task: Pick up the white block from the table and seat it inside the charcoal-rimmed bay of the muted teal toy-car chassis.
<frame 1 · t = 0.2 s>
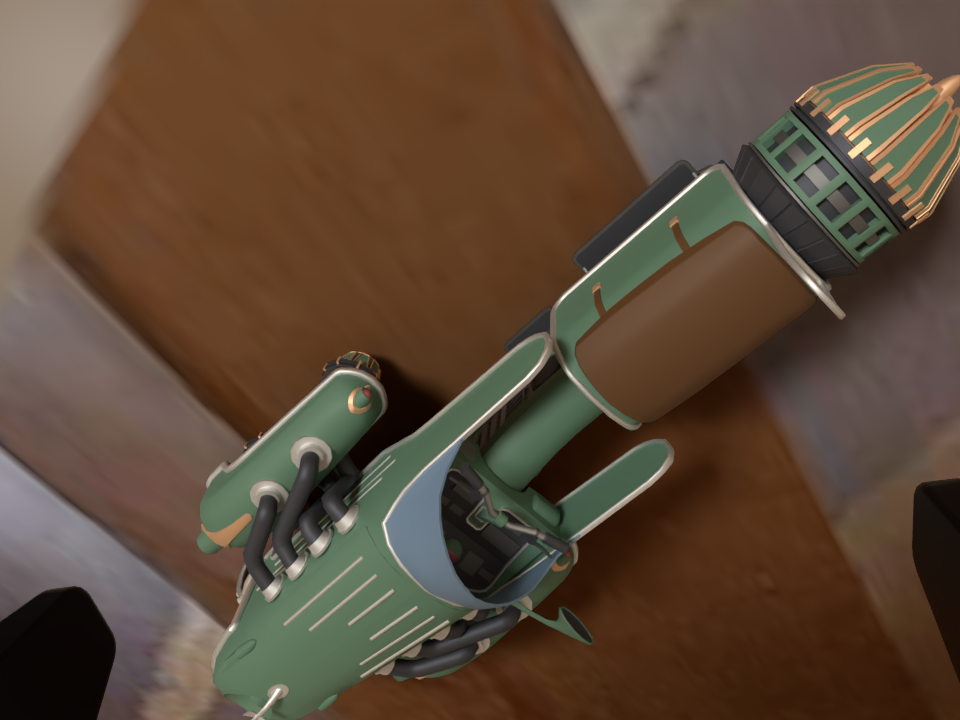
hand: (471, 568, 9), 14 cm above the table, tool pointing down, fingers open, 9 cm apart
hoverbike: (524, 367, 24), on the table
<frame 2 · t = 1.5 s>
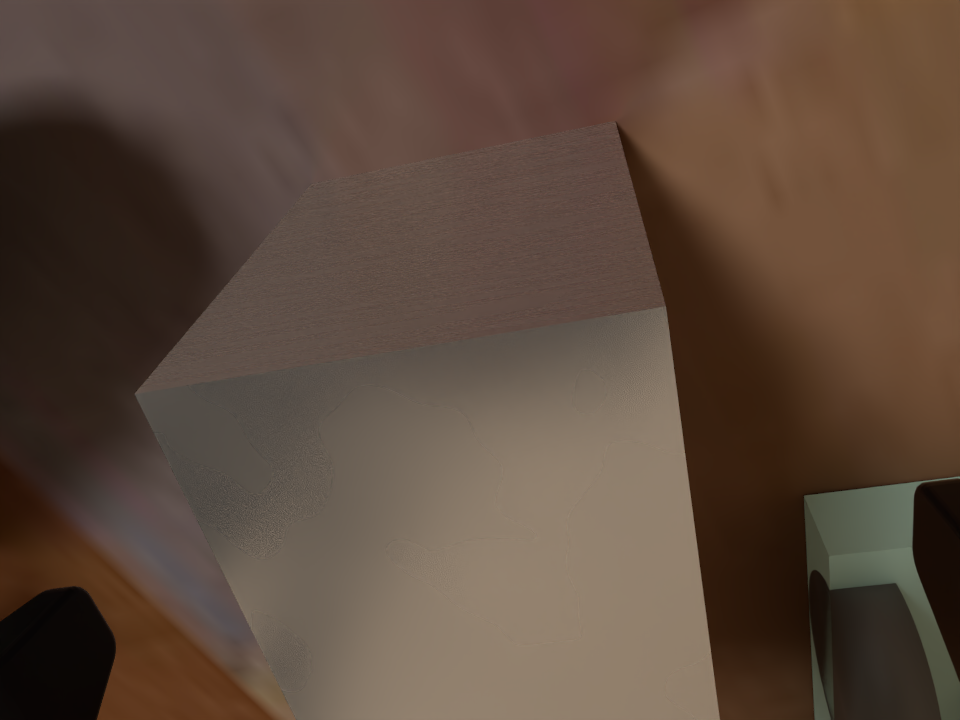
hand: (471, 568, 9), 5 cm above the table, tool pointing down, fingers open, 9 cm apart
white block: (502, 333, 13), on the table
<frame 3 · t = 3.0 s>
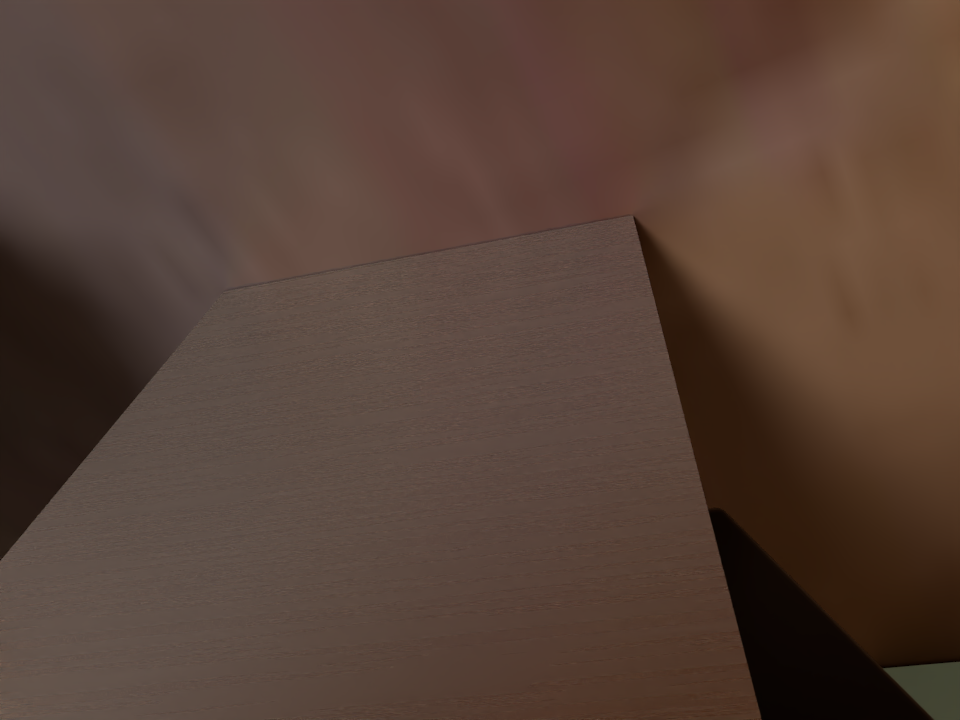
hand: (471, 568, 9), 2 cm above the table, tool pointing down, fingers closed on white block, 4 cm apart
white block: (481, 478, 10), on the table, touching gripper
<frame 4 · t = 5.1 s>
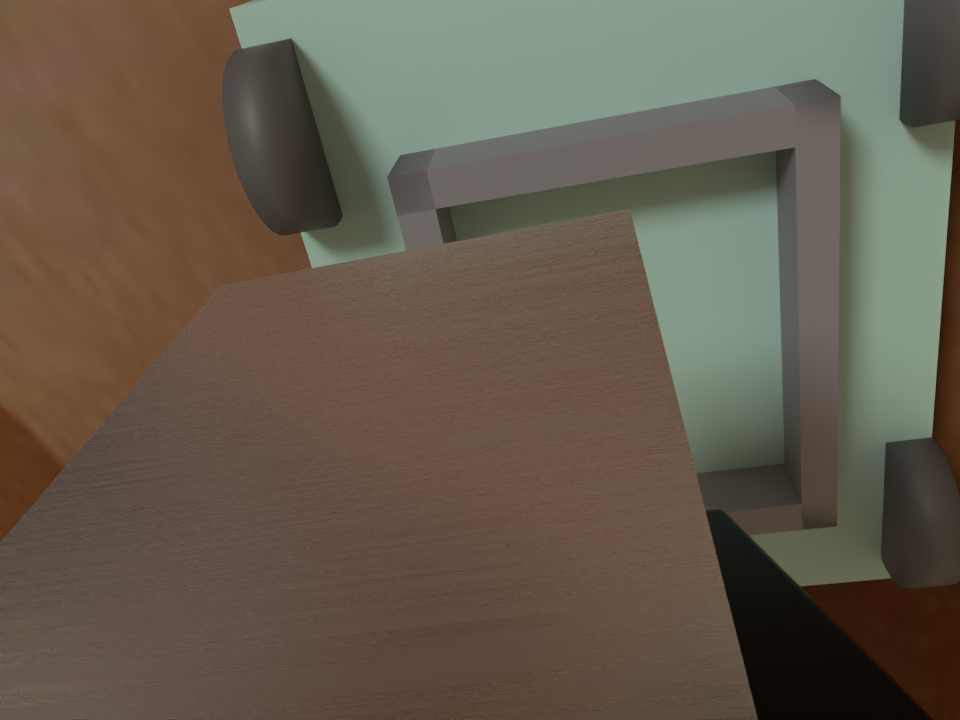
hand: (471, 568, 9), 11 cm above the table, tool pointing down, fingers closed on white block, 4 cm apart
chassis: (622, 305, 19), on the table
white block: (478, 474, 10), point 10 cm above the table, touching gripper
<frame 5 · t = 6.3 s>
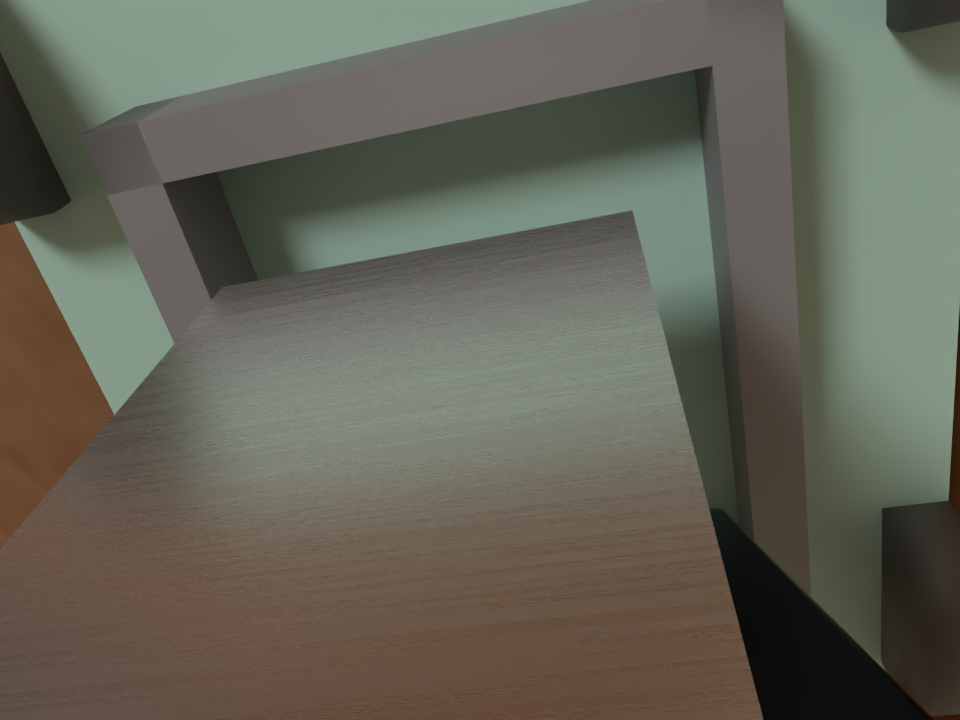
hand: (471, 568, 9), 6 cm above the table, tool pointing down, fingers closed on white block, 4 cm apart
chassis: (506, 319, 14), on the table
white block: (480, 475, 10), point 4 cm above the table, touching gripper
when the fingers open (4 cm above the table, at t = 7.3 s): white block drops 1 cm, resting on chassis.
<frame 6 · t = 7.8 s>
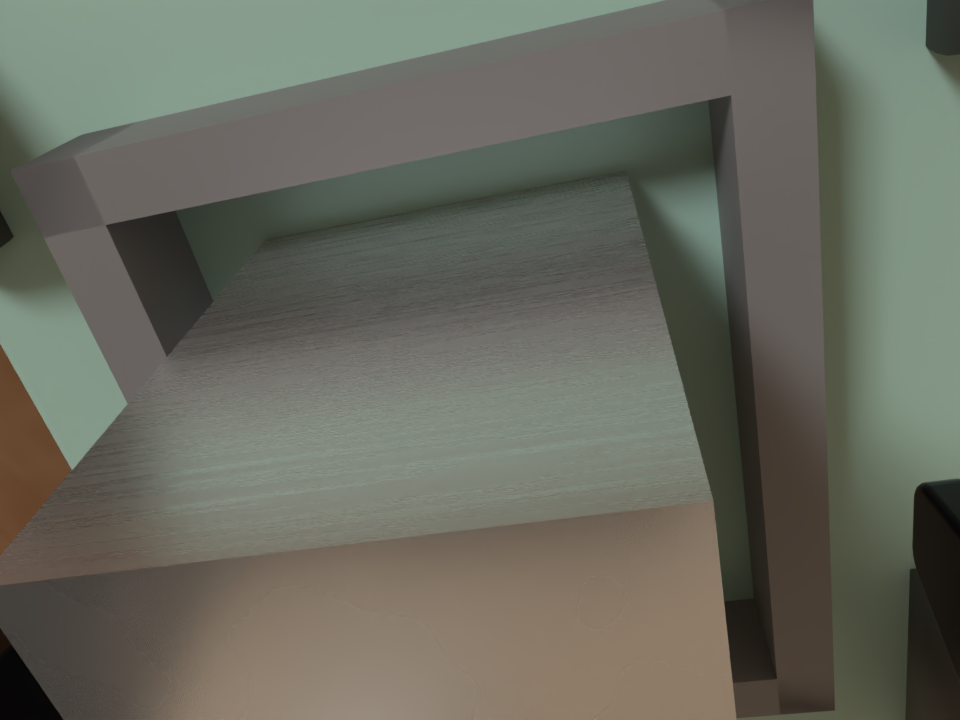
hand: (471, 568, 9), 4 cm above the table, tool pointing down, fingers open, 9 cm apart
chassis: (498, 360, 13), on the table
white block: (490, 411, 11), point 1 cm above the table, touching chassis
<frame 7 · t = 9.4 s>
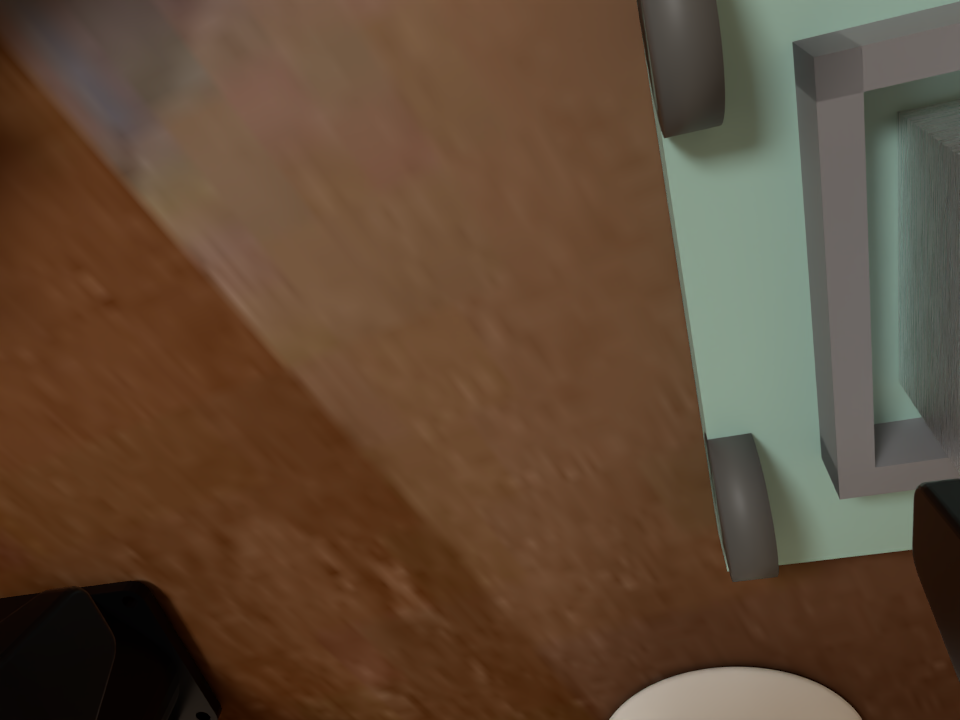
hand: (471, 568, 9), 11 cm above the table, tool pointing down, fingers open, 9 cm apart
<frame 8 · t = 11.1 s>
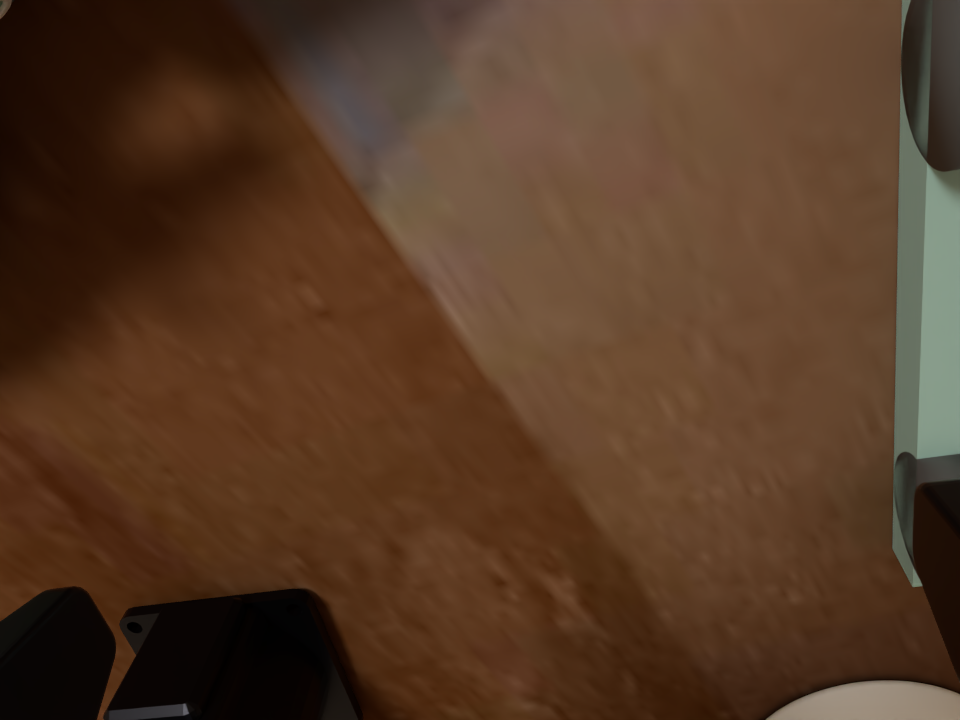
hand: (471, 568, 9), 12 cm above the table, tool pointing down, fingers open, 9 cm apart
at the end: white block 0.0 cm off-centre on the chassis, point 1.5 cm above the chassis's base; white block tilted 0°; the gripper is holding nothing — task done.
